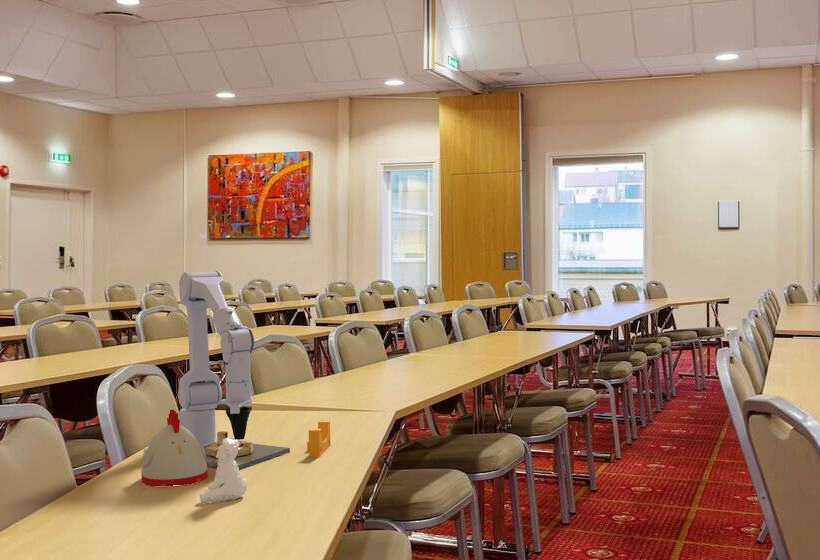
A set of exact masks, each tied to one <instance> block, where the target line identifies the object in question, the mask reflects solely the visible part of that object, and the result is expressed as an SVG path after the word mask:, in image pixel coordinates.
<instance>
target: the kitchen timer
mask: <svg viewBox="0 0 820 560" xmlns="http://www.w3.org/2000/svg"><path fill="white" fill-rule="evenodd" d="M178 413H179V412H177V410H175V409H169V413H168V416H167V418H166V420H167V421H166V423H167V425H166V426H164V427H163V428H161V430H159V431H158V432H157V433H156V434H155V436H154V437H153V438H152V439H151V441H150V443H149V444H148V446H147V448H144V450H143V457H142V461H141V462H142V466H141V472H140V473H141V483H142V484H143V483H144V484H143V485H145V484H146V485H145V486H148V485H150V486H149V487H154V486H173V485H184V484H185V485H184V486H187V485H186V484H190V485H193V484H192V483H194V484H197V483H196V482H198V483H200V481H201V482H203V481H204V480H206V479H207V478H208V475H209V473H208V470H209V469H208V467H207V463H206V460H205V459H206V455H205V450H204V447H205V446H204V445H201V446H200V444H199V442H198V441H197V439H196V438H195V436H194V435H193V434H192V433H191V432H190V431H189V430H188V429H186V428H185V427H183V426H181V425H180V420H178Z"/></svg>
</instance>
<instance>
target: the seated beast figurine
mask: <svg viewBox="0 0 820 560" xmlns="http://www.w3.org/2000/svg"><path fill="white" fill-rule="evenodd" d="M238 446H239V442H238V440H232V439H230V437H228V438H226V439H223V440H222V444H221V446H219V447H218V451H217V455H216V457H217V458H218V460H219V461H218V467H217V468H216V470H215V475H214V480H213V482H211V483H209V484H208V486H207V488H206V489H205V490H204V491H202V492H200V493H199V503H200V502H201V503H207V504H209V503H210V502H215V503H219V502H218V501H222V502H227V500H228V501H235V500H238V499H240V498H241V497H242V496H244V495H245V494H246V491H247V481H246V480H247V479H245V478H244V476H243V475H242V474H241V472H240V470H239V467H238V464H237V463H236V461H235V460H234V459H235V458H236V455H237V454H238V450H239V448H238ZM201 503H200V504H201ZM210 504H211V503H210Z"/></svg>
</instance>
